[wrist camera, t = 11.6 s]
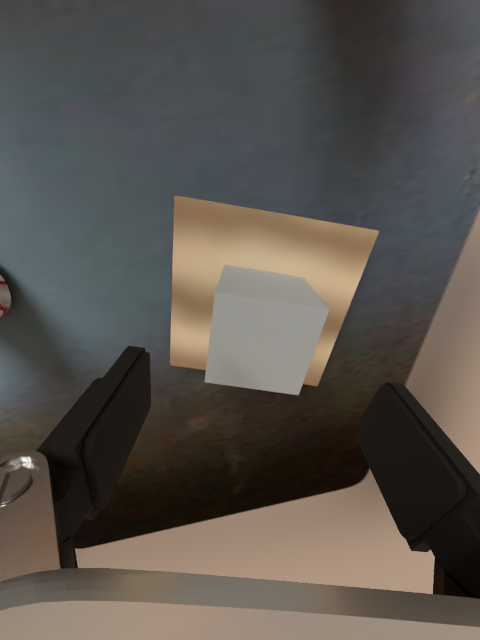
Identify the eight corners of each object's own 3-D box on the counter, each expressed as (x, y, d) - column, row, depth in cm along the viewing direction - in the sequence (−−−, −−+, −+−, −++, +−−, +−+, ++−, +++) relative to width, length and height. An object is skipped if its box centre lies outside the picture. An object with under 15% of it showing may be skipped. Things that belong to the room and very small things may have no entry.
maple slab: (185, 196, 18) (174, 195, 15) (360, 227, 19) (379, 231, 16) (178, 347, 24) (169, 365, 22) (309, 366, 25) (317, 386, 22)
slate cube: (224, 264, 17) (214, 292, 12) (304, 277, 18) (329, 310, 12) (215, 334, 20) (204, 382, 15) (284, 344, 20) (298, 395, 15)
